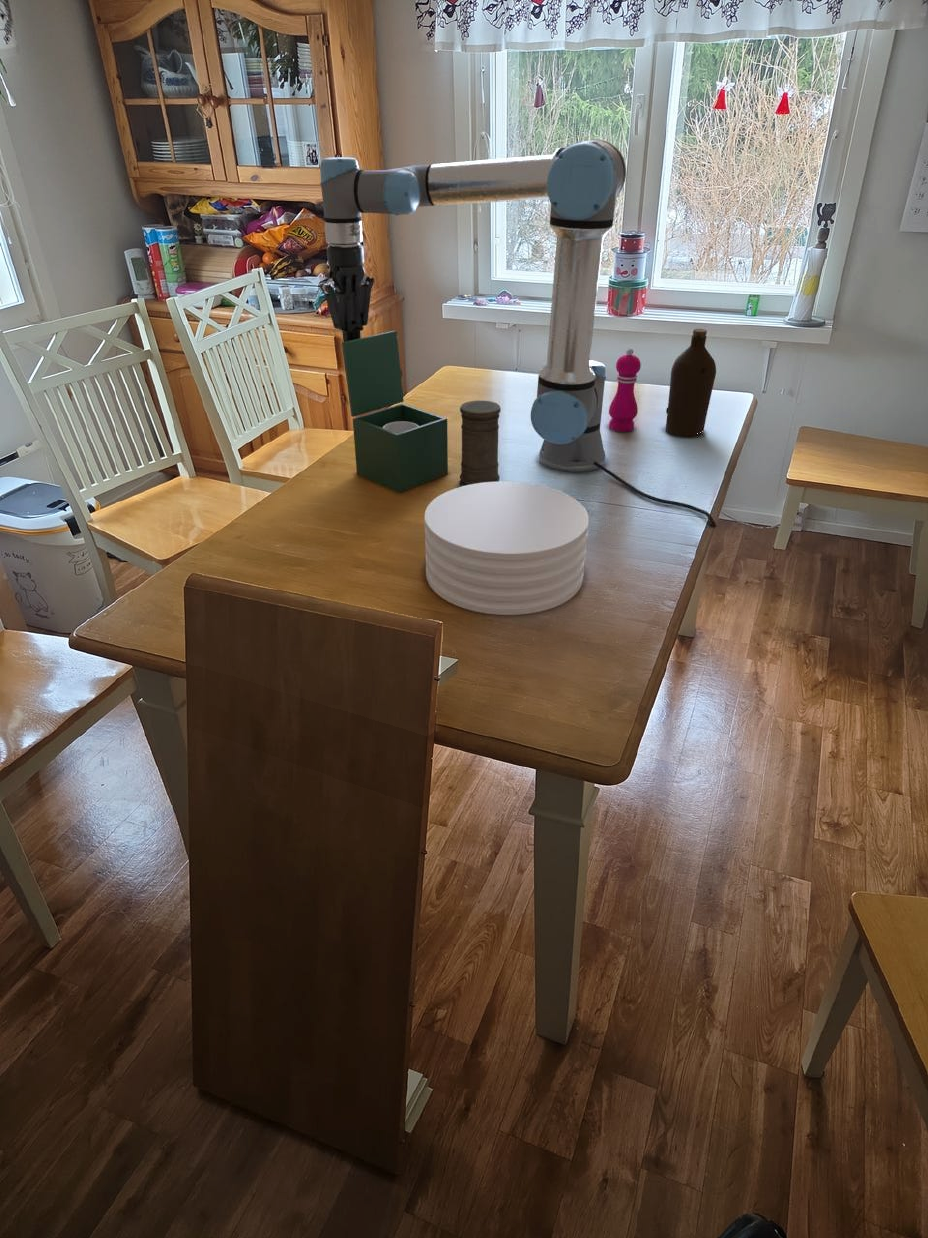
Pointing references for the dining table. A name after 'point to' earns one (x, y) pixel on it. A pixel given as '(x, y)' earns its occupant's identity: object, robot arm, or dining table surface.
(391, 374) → the lid
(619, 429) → the pepper mill
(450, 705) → the dining table surface
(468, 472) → the container
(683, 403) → the olive oil
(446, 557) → the plate stack
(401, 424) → the dixie cup
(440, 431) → the chest
